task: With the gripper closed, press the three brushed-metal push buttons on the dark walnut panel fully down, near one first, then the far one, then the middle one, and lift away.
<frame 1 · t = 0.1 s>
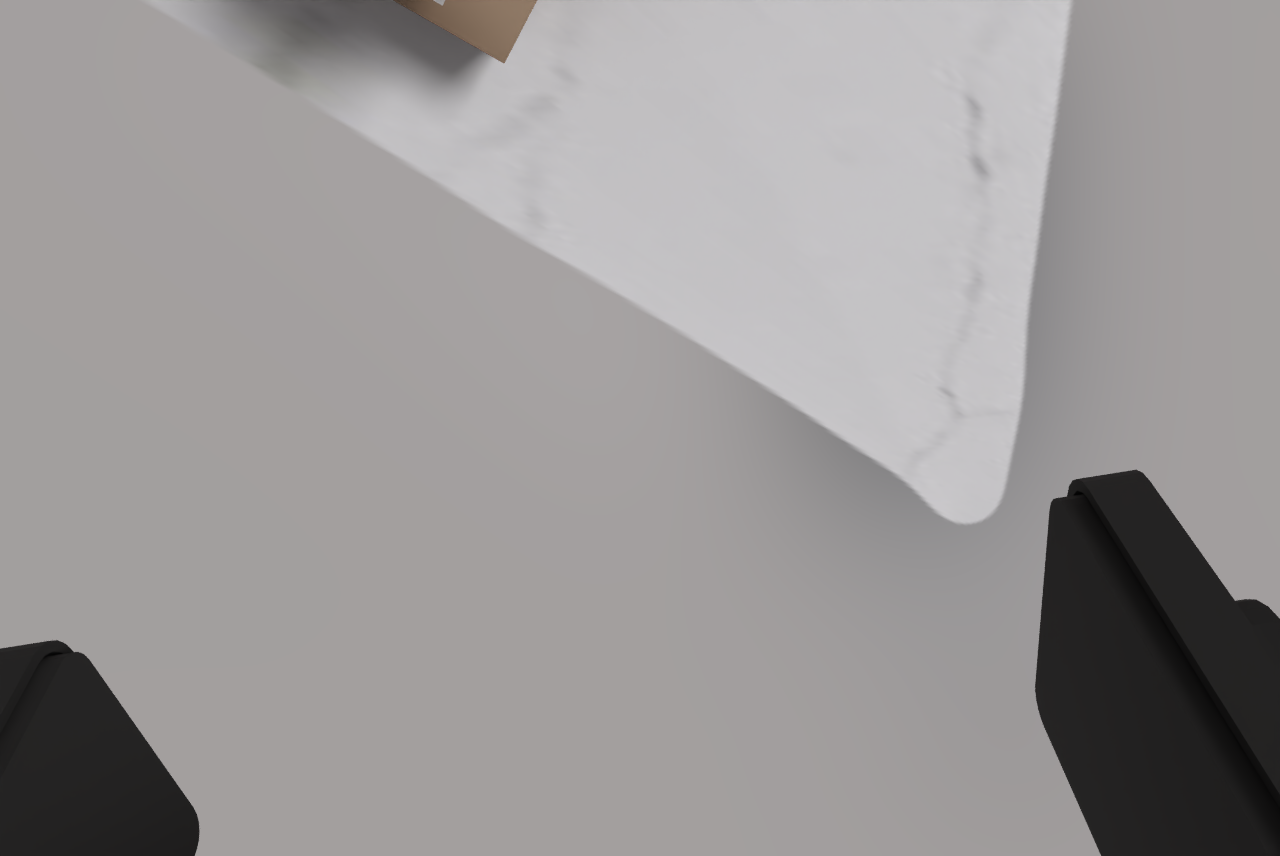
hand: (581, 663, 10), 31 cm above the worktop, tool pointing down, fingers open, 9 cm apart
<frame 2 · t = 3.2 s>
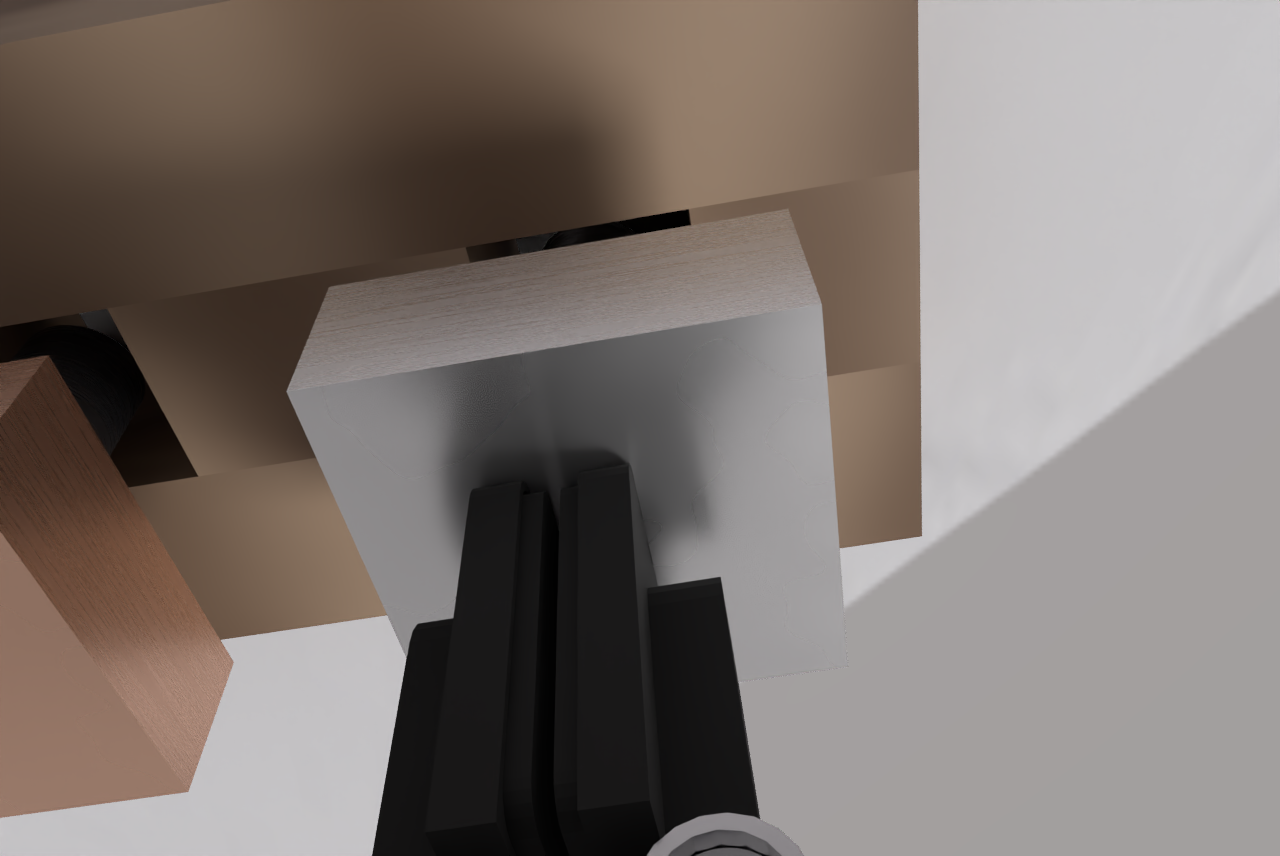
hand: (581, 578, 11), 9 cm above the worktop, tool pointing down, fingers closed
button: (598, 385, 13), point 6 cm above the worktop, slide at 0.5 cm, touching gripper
button panel: (149, 280, 18), on the worktop
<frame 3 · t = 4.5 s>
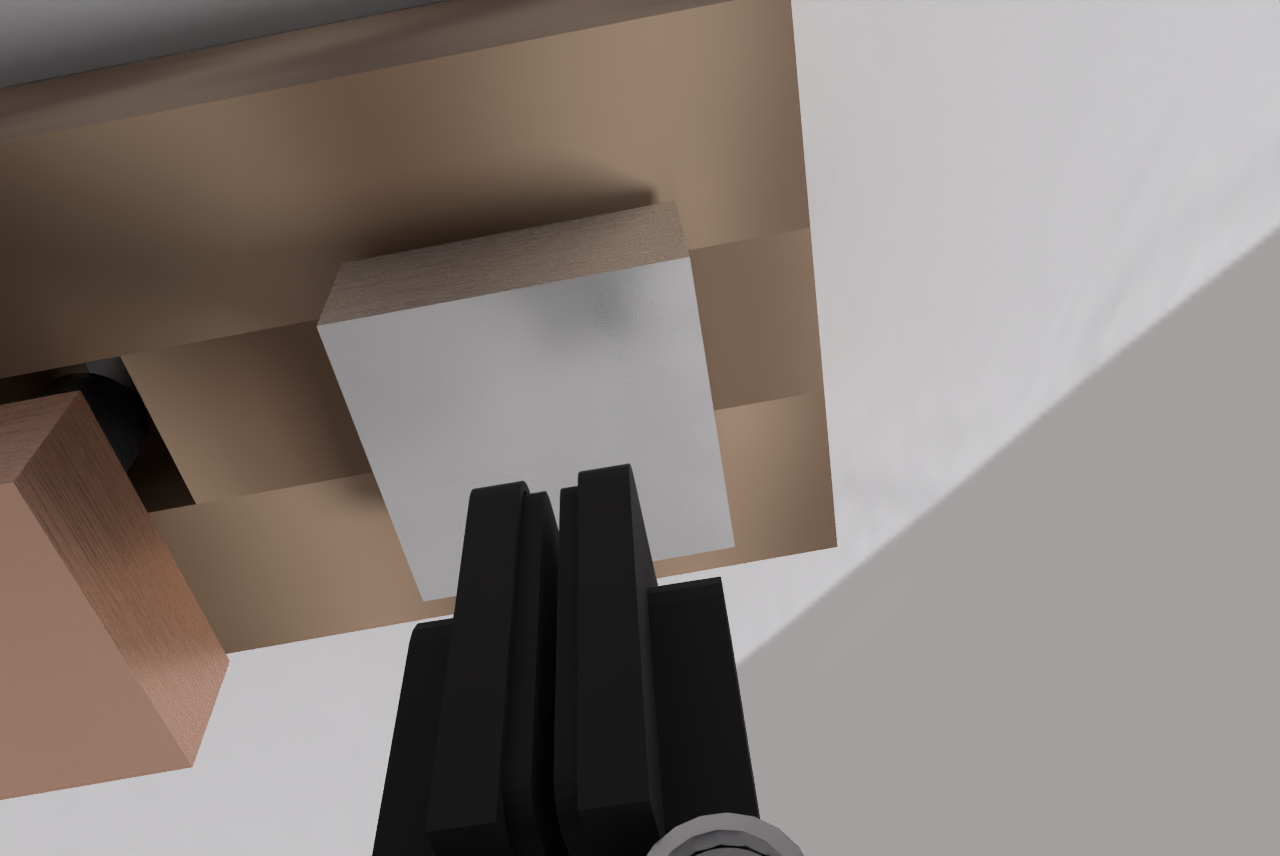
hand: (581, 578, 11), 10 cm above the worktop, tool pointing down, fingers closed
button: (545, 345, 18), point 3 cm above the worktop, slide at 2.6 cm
middle button: (21, 524, 16), point 6 cm above the worktop, slide at 0.0 cm
button panel: (150, 335, 21), on the worktop
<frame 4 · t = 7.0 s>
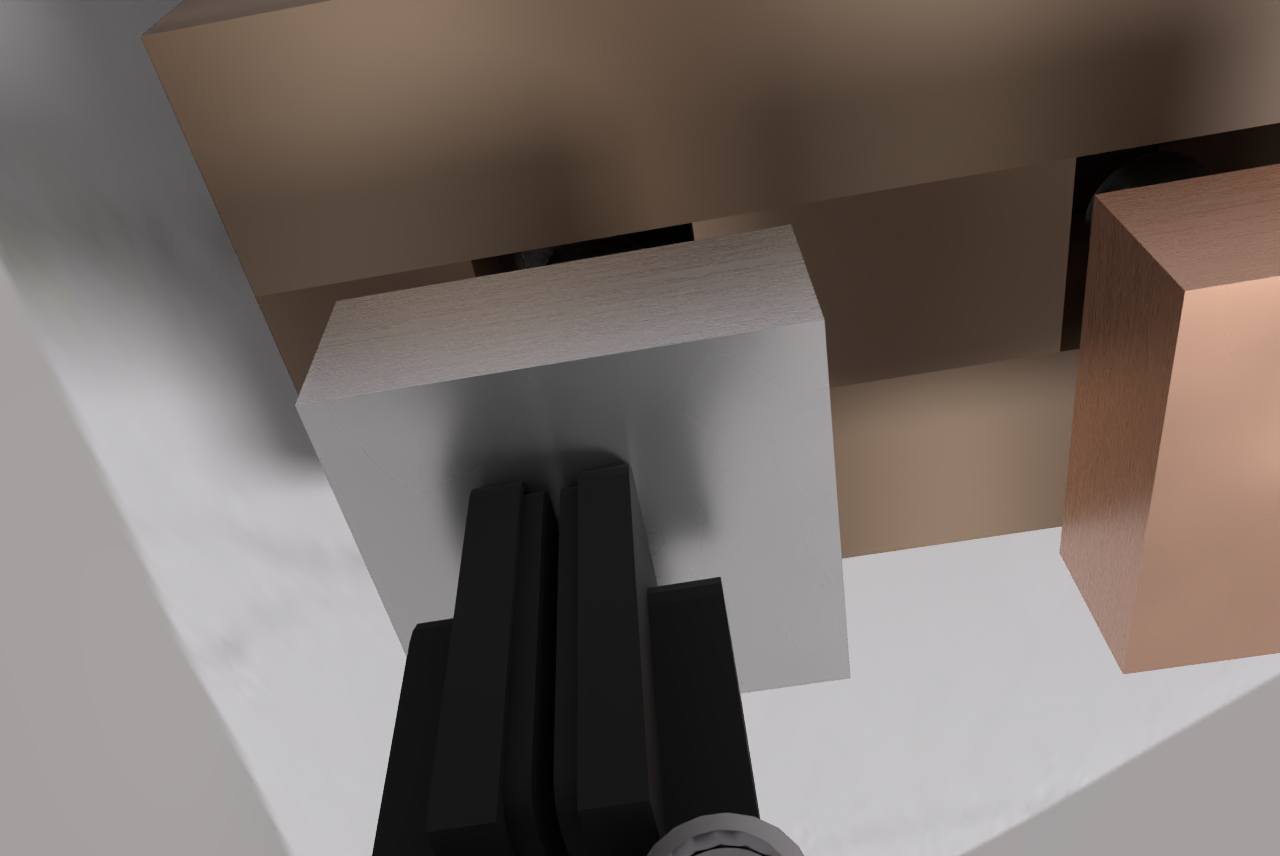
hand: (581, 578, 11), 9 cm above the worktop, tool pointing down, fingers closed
middle button: (1254, 316, 13), point 6 cm above the worktop, slide at 0.0 cm
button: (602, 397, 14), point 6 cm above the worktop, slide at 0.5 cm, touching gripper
button panel: (1071, 134, 18), on the worktop
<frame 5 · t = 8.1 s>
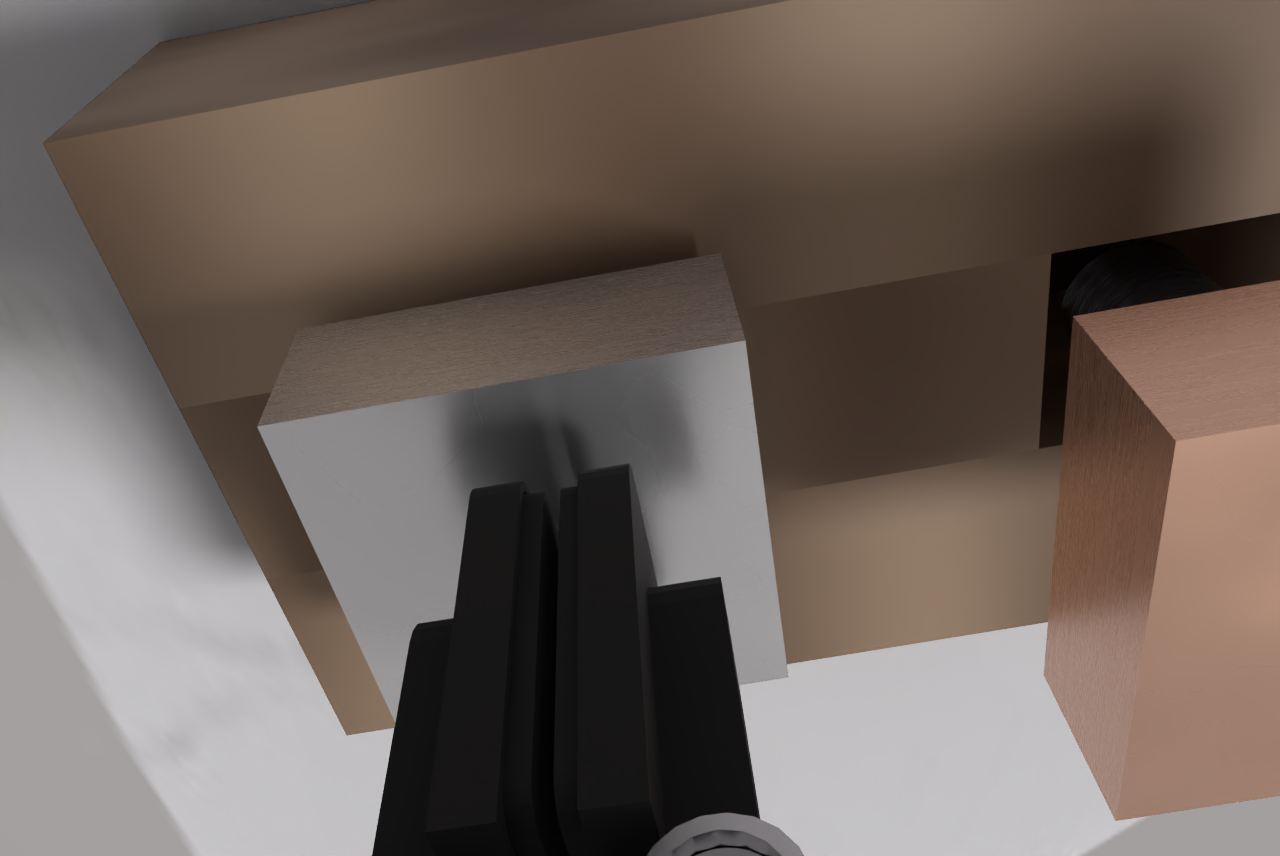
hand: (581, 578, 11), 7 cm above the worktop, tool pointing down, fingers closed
middle button: (1243, 425, 12), point 6 cm above the worktop, slide at 0.0 cm
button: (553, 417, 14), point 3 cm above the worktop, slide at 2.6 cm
button panel: (1044, 212, 17), on the worktop
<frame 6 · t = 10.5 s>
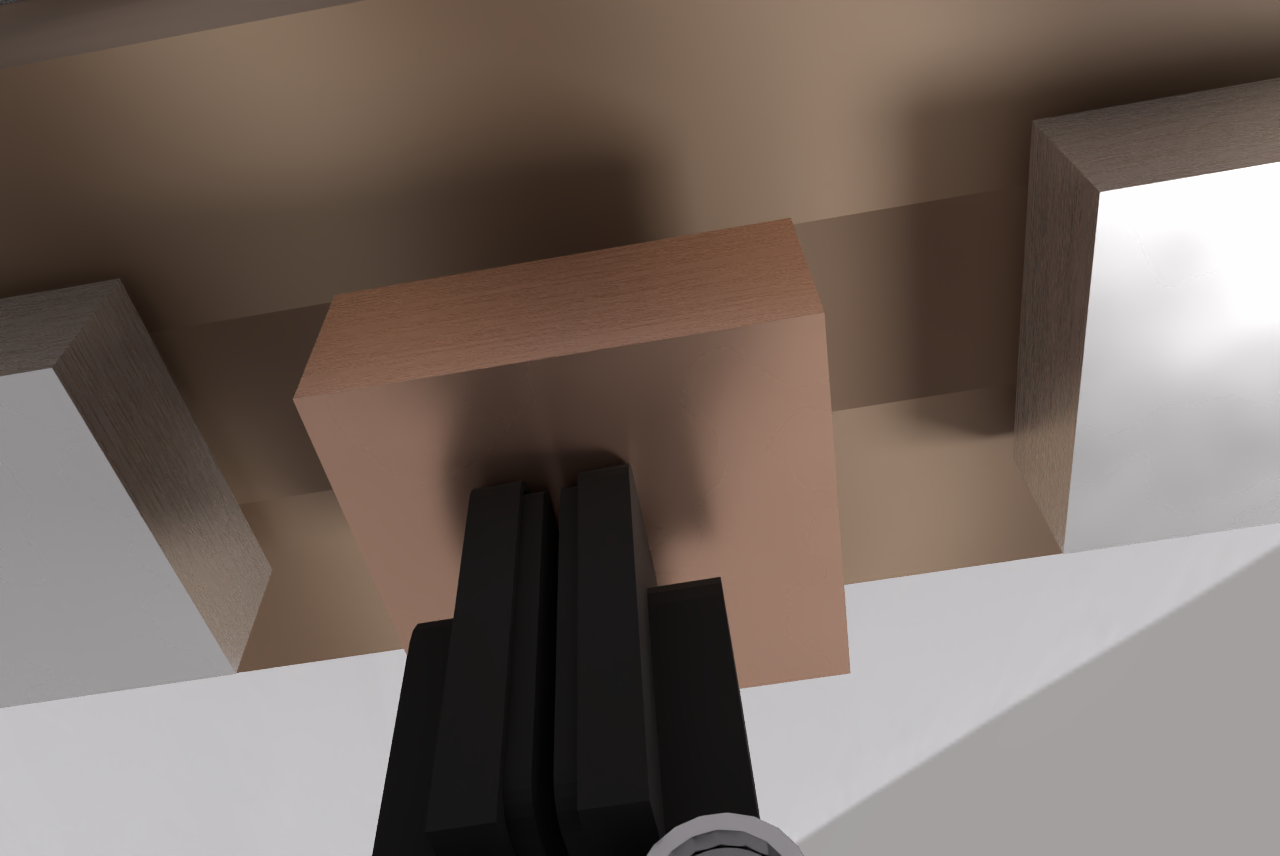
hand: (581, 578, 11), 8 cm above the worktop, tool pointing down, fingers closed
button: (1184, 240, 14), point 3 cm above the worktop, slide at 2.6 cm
middle button: (601, 392, 14), point 5 cm above the worktop, slide at 1.2 cm, touching gripper
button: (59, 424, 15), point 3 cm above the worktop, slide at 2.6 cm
button panel: (599, 228, 17), on the worktop
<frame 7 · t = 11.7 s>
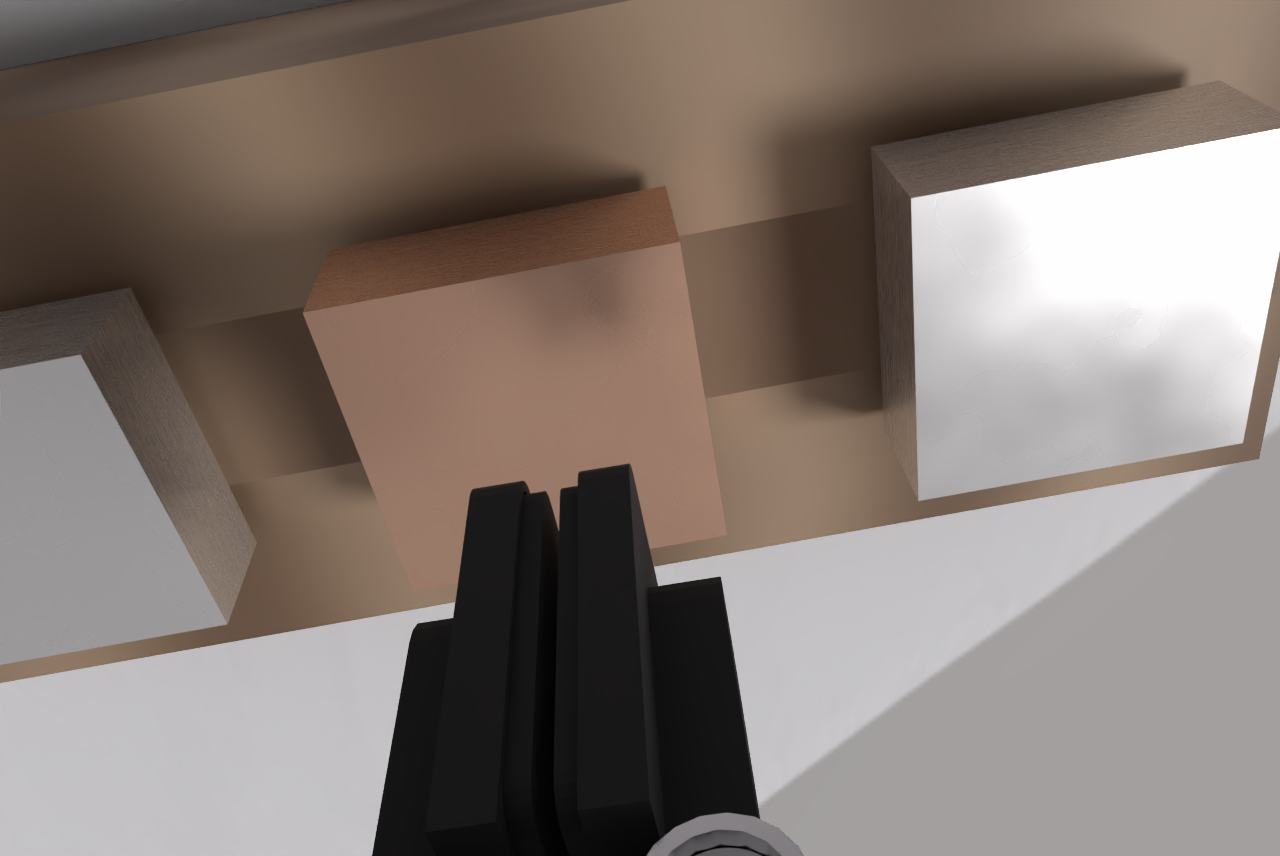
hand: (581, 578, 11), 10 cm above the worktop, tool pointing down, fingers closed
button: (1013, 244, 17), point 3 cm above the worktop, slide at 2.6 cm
middle button: (535, 333, 17), point 3 cm above the worktop, slide at 2.6 cm
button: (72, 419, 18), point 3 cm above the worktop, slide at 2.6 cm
button panel: (537, 248, 20), on the worktop
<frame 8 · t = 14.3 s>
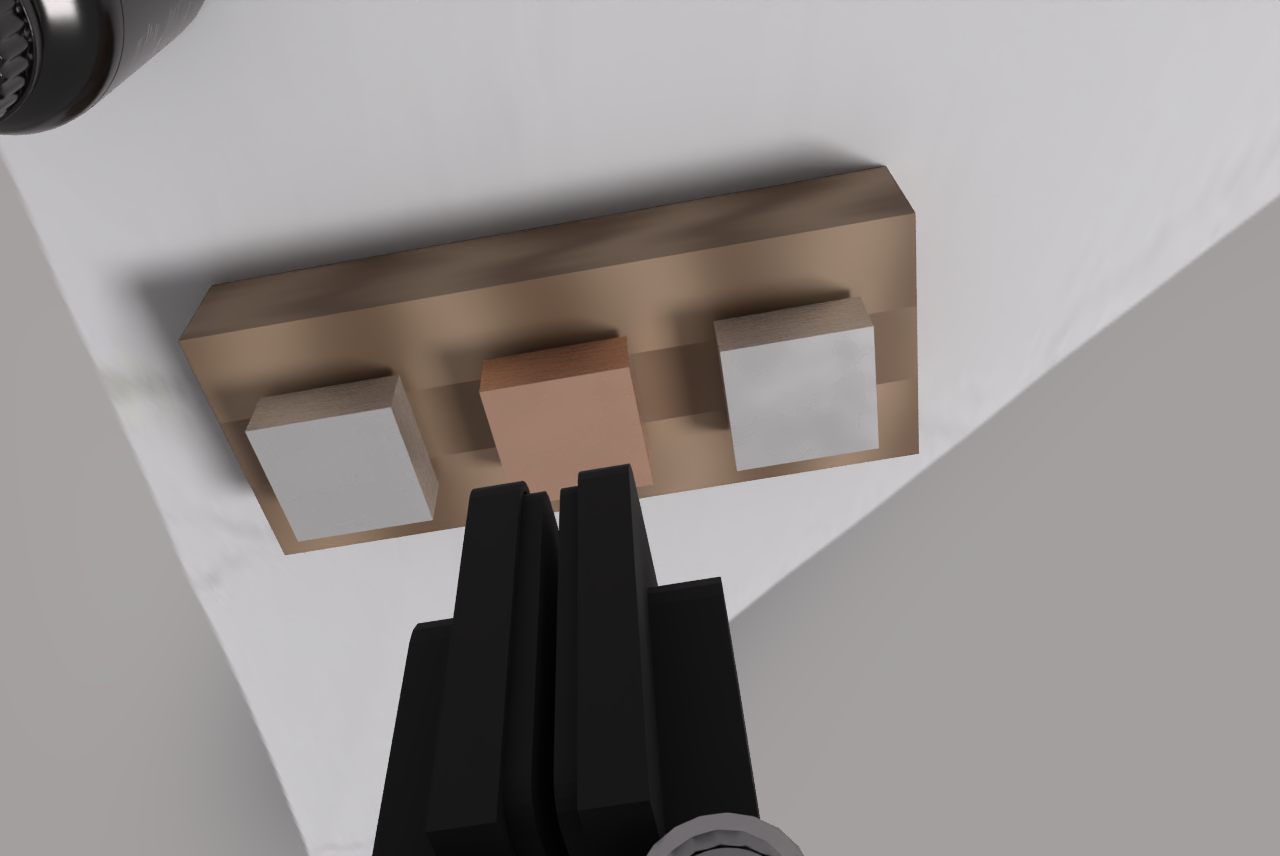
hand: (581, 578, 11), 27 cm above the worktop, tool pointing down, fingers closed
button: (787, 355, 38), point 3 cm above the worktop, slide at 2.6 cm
middle button: (569, 391, 38), point 3 cm above the worktop, slide at 2.6 cm
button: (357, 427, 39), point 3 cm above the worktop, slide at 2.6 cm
button panel: (570, 343, 41), on the worktop
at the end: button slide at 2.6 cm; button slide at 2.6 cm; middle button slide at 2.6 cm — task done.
